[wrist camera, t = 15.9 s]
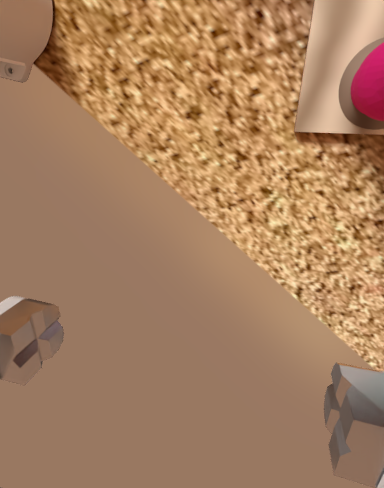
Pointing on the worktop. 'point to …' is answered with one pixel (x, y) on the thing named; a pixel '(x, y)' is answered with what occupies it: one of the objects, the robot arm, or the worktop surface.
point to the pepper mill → (370, 85)
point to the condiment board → (338, 66)
